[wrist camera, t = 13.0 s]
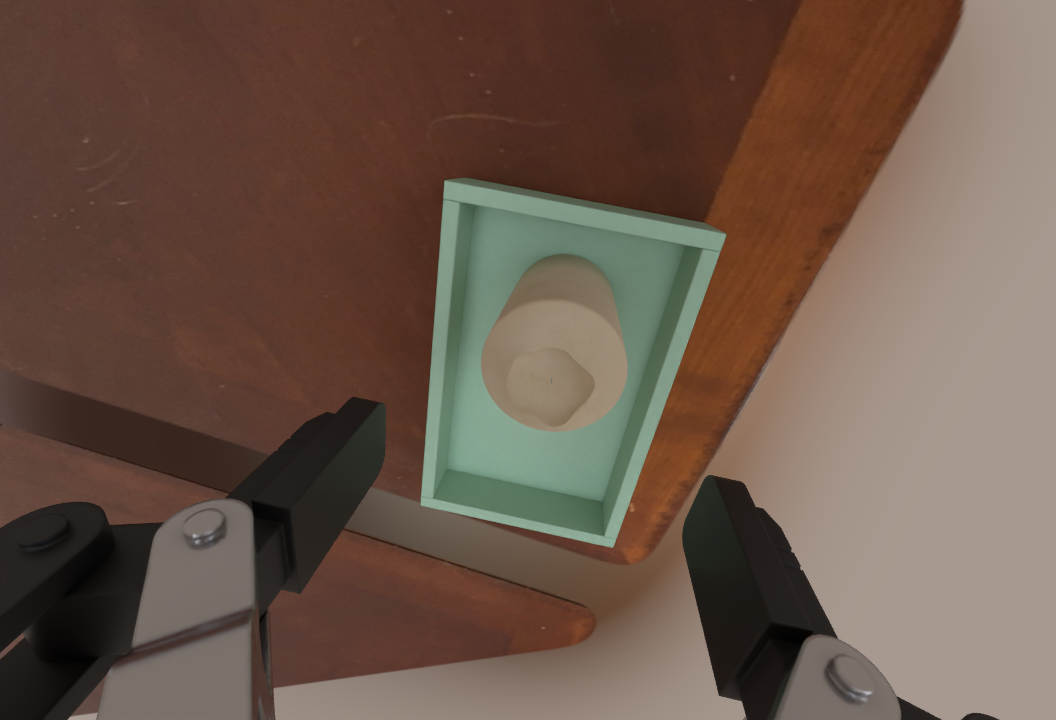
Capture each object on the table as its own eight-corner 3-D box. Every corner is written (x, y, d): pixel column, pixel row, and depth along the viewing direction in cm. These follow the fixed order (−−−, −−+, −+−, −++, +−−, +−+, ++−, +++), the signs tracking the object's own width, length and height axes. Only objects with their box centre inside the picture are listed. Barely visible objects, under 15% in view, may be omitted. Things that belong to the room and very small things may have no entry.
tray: (464, 177, 22) (444, 180, 19) (706, 222, 22) (727, 233, 18) (437, 469, 31) (420, 505, 27) (610, 506, 30) (613, 548, 27)
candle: (610, 246, 22) (628, 305, 13) (616, 344, 24) (634, 451, 15) (507, 259, 23) (456, 322, 14) (521, 351, 25) (486, 457, 16)
